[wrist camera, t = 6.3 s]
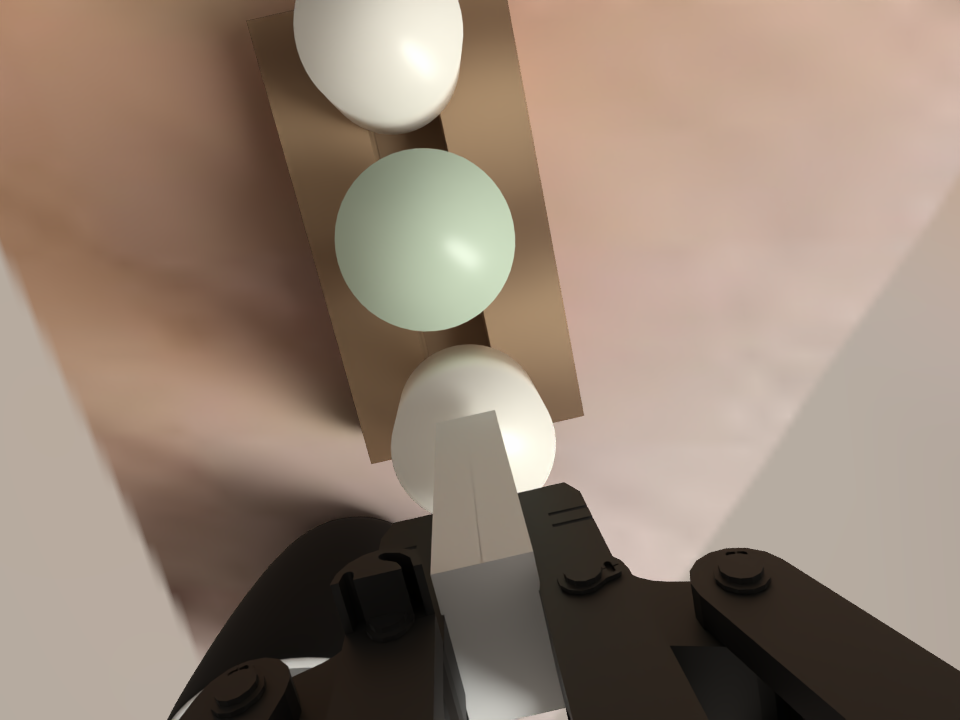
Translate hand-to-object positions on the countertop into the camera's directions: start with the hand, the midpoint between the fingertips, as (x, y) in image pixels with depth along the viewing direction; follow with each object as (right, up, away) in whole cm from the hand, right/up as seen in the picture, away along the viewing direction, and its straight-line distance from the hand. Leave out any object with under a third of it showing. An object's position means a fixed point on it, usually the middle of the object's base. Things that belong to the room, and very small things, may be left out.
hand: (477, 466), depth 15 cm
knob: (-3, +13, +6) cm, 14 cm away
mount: (-2, +8, +8) cm, 11 cm away
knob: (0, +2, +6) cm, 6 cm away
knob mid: (-2, +7, +5) cm, 8 cm away
